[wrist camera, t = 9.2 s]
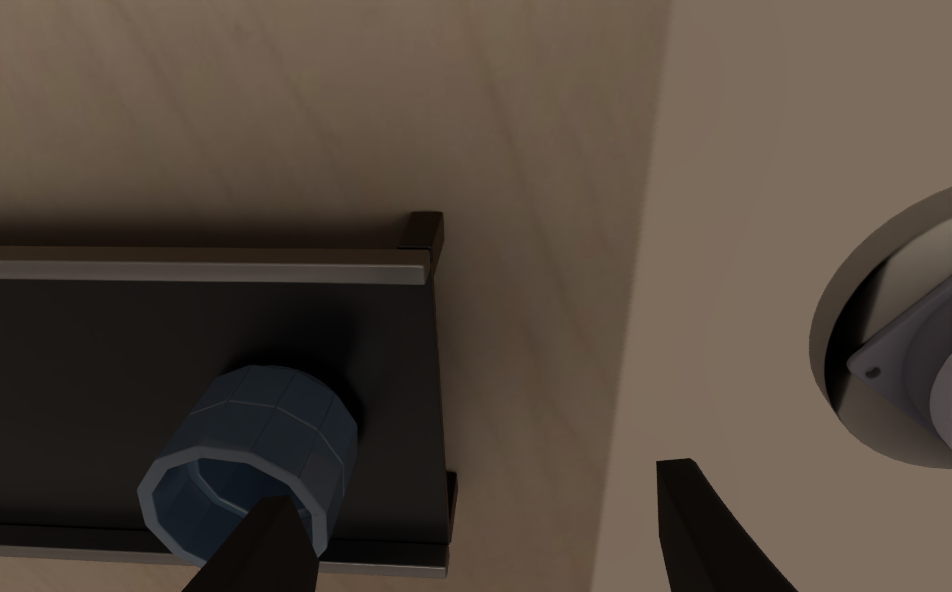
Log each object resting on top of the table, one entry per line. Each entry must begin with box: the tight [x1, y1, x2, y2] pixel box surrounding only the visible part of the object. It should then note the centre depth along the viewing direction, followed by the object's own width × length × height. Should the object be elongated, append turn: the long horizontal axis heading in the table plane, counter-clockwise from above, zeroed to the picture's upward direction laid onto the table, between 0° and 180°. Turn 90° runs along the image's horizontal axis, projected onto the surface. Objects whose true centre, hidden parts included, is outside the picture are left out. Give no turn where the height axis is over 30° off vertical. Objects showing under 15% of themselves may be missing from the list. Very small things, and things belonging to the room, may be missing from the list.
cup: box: [137, 365, 358, 568], centre depth 18 cm, size 5×5×4 cm
